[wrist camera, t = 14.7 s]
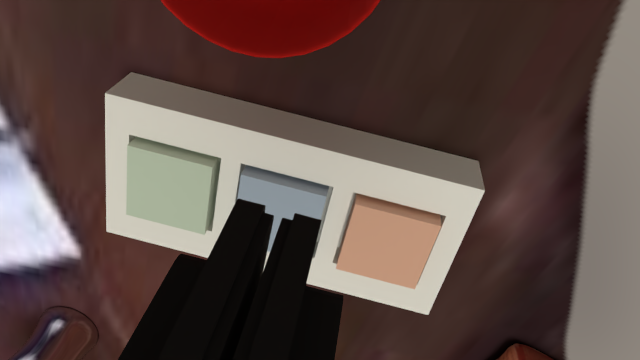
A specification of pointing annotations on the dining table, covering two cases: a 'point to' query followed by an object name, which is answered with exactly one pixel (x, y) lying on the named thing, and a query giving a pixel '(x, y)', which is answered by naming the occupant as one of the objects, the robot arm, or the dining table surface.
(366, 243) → the button terracotta
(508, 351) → the snack package
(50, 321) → the beer glass
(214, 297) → the robot arm
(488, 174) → the dining table surface
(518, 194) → the dining table surface
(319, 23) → the ceramic cup
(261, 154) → the button panel
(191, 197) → the button sage
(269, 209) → the button slate
